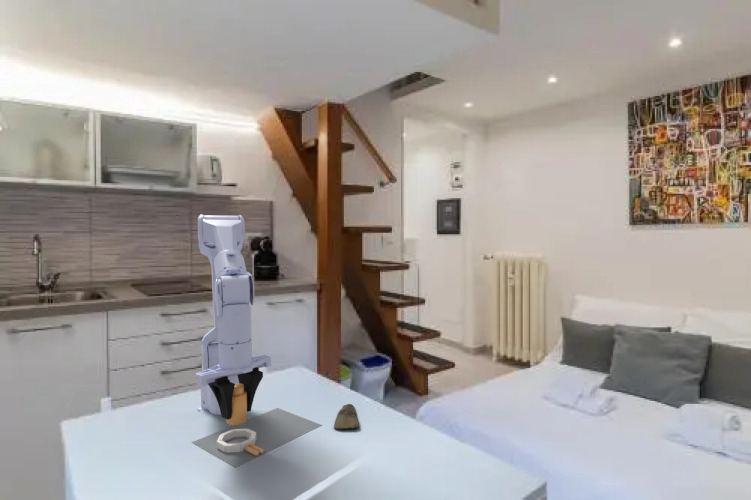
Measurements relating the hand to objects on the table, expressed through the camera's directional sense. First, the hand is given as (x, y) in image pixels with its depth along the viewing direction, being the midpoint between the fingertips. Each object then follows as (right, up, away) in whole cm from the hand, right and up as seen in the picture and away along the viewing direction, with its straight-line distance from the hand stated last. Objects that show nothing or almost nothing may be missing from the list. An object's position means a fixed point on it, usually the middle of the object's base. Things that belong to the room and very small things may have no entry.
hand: (236, 413), depth 79 cm
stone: (+20, -6, +11) cm, 24 cm away
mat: (+3, -6, +4) cm, 8 cm away
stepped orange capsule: (0, -1, 0) cm, 1 cm away
